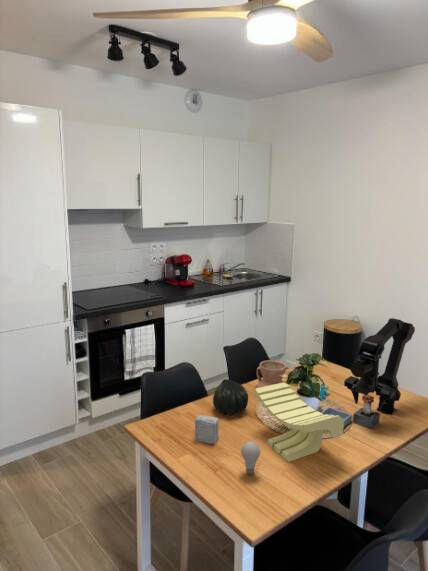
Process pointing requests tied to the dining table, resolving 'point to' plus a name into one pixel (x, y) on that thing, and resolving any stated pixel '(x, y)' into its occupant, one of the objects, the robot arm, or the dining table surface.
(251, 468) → the lightbulb
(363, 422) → the hitch block
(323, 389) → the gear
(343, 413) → the tray
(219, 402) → the squash
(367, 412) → the pin
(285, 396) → the slatted curved stool
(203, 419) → the medicine box
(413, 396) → the dining table surface
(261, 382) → the ceramic jug
